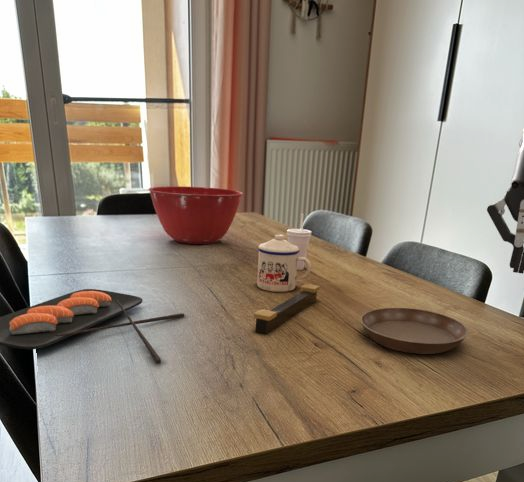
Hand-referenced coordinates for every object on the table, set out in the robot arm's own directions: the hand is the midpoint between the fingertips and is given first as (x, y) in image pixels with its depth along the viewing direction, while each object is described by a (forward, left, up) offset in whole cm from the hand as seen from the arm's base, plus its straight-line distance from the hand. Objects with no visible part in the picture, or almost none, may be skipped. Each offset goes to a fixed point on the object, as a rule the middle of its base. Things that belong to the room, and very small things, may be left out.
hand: (517, 271), depth 78 cm
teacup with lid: (+46, -17, -14) cm, 51 cm away
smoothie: (+51, -37, -14) cm, 65 cm away
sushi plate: (+59, +26, -14) cm, 66 cm away
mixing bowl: (+92, -52, -14) cm, 107 cm away
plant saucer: (+14, 0, -14) cm, 20 cm away
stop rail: (+37, 0, -14) cm, 39 cm away
